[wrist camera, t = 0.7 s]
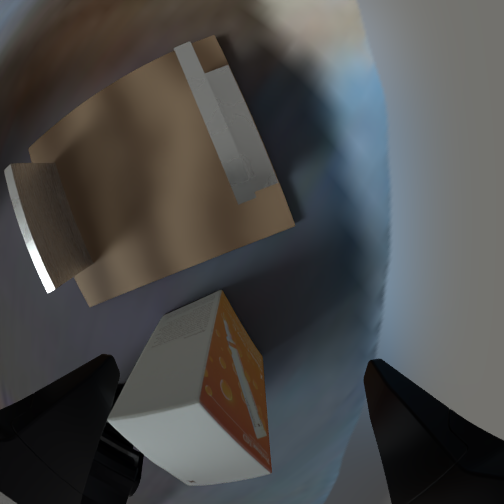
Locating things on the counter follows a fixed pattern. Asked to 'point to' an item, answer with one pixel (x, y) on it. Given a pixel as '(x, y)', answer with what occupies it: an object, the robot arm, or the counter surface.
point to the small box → (198, 397)
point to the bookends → (56, 204)
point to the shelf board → (152, 180)
